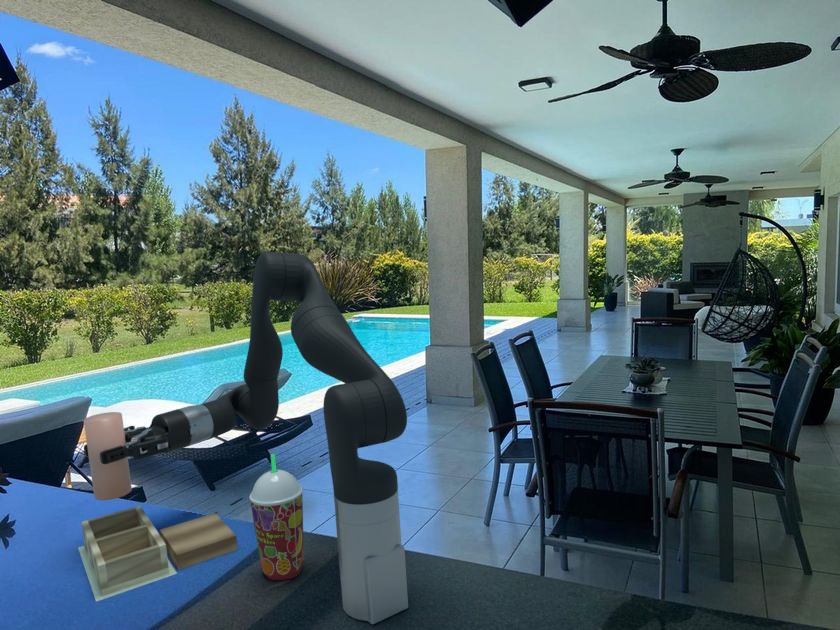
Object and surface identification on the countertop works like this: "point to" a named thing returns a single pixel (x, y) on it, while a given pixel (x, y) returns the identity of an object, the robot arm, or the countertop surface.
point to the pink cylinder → (100, 437)
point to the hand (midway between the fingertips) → (93, 454)
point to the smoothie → (278, 523)
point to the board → (198, 540)
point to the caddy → (124, 549)
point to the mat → (99, 596)
